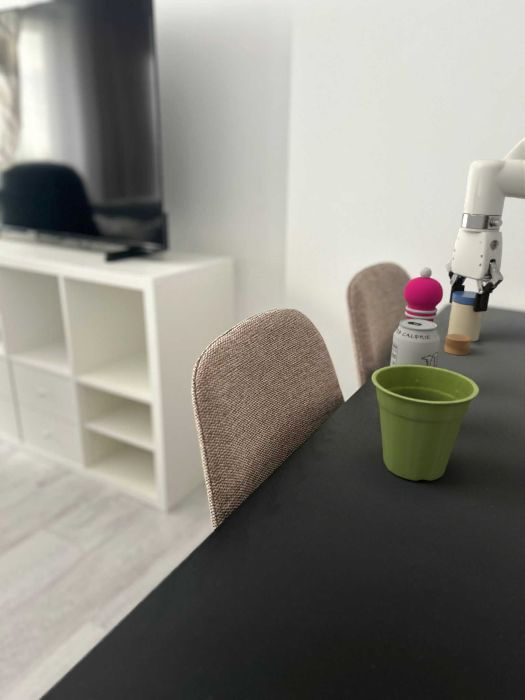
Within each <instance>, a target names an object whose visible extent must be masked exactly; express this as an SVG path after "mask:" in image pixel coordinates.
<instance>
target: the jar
mask: <svg viewBox="0 0 525 700" xmlns="http://www.w3.org/2000/svg"><path fill="white" fill-rule="evenodd" d="M473 307H474V305H468V304H461V303H457V302H454V301H453V300H452V304H451V307H450V314H449V320H448V327H447V334H446V335H448V334H461V335H465V336H468V337H470V338H471V342H476V341H479V339H480V336H481V335H480V334H481V329H482V328H481V327H482V323H483V316H484V312H474V311H473Z"/></svg>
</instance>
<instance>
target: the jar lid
mask: <svg viewBox="0 0 525 700" xmlns="http://www.w3.org/2000/svg"><path fill="white" fill-rule="evenodd" d="M476 293H479V292H478V291H471V290H464V291H455V292H453V295H452V300H453V301H454V302H457V303H461V304H468V305H474V301H475V295H476Z"/></svg>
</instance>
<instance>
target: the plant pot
mask: <svg viewBox="0 0 525 700" xmlns="http://www.w3.org/2000/svg"><path fill="white" fill-rule="evenodd" d="M371 381H372V384H373V385H374V387H375V389H376V390H375V391H376V400H377V402H378V407H379V419H380V431H381V433H380V434H381V442H382V443H381V445H382V446H381V447H382V458H383V463H384V465H385V467H386V469H387V470H388V471H389V472H391V473H392V474H394V475H395V476H397V477H400V478H403V479H405V480H409V481H420V480H426V481H428V482H429V481H430V482H431V481H435V480H438V479H439V478H441V477H442V476H443V475H444V474H445V471H446V469H447V466H448V463H449V460H450V457H451V454H452V451H453V448H454V445H455V442H456V439H457V437H458V434H459V431H460V428H461V425H462V422H463V419H464V416H466V414H467V413H468V411H469V408H470V406H471V402H472V400H473V399H476V397H477V396H478V395H479V392H480V389H479V385H477V384H476V382H475V381H474V380H472V379H471V378H469V377H468V376H465V375H463V374H461V373H458V372H456V371H453V370H449V369H445V368H441V367H430V366H423V365H394V366H390V365H389V366H384V367H381V368H379V369H377V370H375V371H374V372H373V373H372V375H371Z"/></svg>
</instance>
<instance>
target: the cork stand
mask: <svg viewBox="0 0 525 700" xmlns="http://www.w3.org/2000/svg"><path fill="white" fill-rule="evenodd" d="M471 343H472V341H471V338H470V337H468V336H465V335H461V334H448V335H447V334H446V335H445V340H444V347H443V352H446V353H448V354H449V355H455V356H466V355H469V354H470V349H471Z"/></svg>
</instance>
